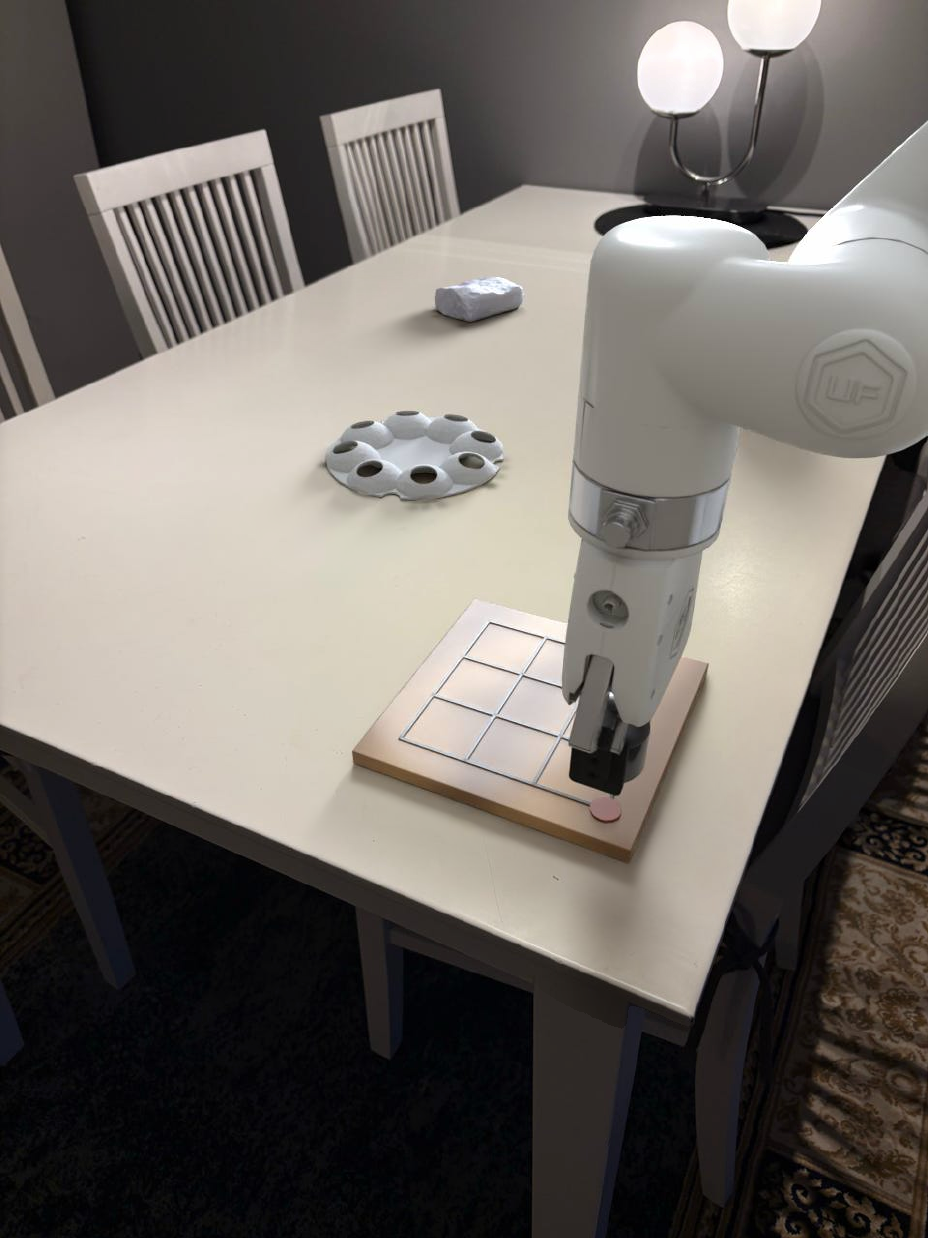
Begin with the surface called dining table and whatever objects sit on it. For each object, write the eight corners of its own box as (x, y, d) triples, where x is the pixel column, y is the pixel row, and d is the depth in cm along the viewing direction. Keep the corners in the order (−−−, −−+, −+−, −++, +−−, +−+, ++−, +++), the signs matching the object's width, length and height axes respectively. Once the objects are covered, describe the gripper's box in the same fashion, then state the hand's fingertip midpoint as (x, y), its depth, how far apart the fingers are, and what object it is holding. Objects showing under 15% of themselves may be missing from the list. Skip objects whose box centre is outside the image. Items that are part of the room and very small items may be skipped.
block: (429, 320, 141) (471, 323, 134) (425, 287, 139) (467, 289, 131) (486, 306, 147) (529, 309, 140) (483, 275, 145) (526, 275, 138)
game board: (706, 674, 71) (709, 661, 70) (629, 864, 56) (631, 850, 56) (474, 609, 78) (474, 596, 77) (352, 763, 63) (351, 749, 63)
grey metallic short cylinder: (653, 746, 57) (659, 710, 55) (631, 794, 53) (638, 758, 52) (586, 724, 58) (590, 689, 56) (561, 770, 55) (565, 734, 53)
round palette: (329, 506, 92) (327, 489, 90) (323, 424, 107) (322, 408, 106) (519, 492, 94) (520, 474, 93) (487, 413, 109) (487, 397, 108)
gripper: (676, 606, 37) (626, 883, 48) (758, 440, 49) (703, 692, 60) (508, 561, 40) (497, 834, 51) (625, 414, 52) (596, 660, 63)
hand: (609, 754), depth 55 cm, fingers closed on grey metallic short cylinder, 4 cm apart
